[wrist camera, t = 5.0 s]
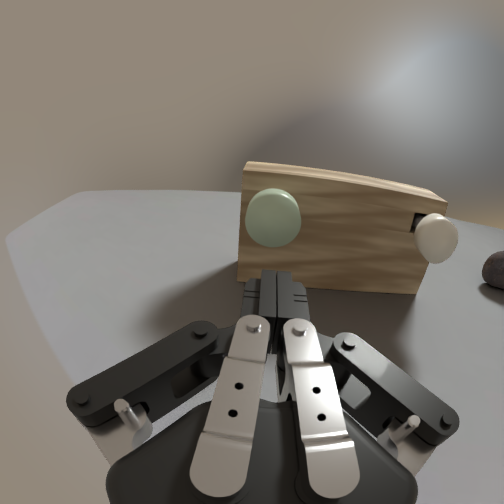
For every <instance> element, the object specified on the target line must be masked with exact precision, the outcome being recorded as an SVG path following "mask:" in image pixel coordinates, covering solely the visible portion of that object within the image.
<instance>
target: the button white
mask: <svg viewBox="0 0 504 504" xmlns="http://www.w3.org/2000/svg"><path fill="white" fill-rule="evenodd" d="M412 226H413V227H414V228H415V233H414V244H415V247H416V248H417V250H418V251H419V252H420V253H421V254H422V255H423V257H424V258H425V259H426V260H427V261H428V262H430V263H433V264H437V263H441V262H443V261H445V260H447V259H448V258H449V257H450V256H451V255H452V253H453V252H454V250H455V248H456V246H457V243H458V231H457V228H456V227H455V225H454V224H452V223H451V222H450V221H449V220H447V219H446V218H445V217H443V216H442V215H440V214H437V213H433V214H429V215H427V216H426V217H423V216H422V215H421V214H419V213H415V214H414V218H413V222H412Z"/></svg>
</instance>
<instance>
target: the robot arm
mask: <svg viewBox="0 0 504 504" xmlns="http://www.w3.org/2000/svg"><path fill="white" fill-rule="evenodd" d="M306 296H307V295H306V289H305V287H304V286H303V285H302V283H301V282H292V274H291V272H289V271H277V272H276V270H266V269H262V272H261V279H257V278H250V279H249V280H248V281H247V282H246V284H245V290H244V297H243V303H242V310H241V316H240V319H239V320H238V322H237V323H236V324H235V325H233V326H231V327H228V328H223V329H217V327H216V326H215V325H214V324H212V323H210V322H207V321H195V322H192V323H190V324H189V325H187V326H185V327H183V328H182V329H180V330H178V331H176V332H175V333H173V334H171V335H169V336H167V337H166V338H164V339H162V340H160V341H158V342H157V343H155V344H153V345H151V346H149V347H148V348H146V349H144V350H142V351H140V352H138V353H137V354H135V355H133V356H131V357H129V358H127V359H126V360H124V361H122V362H120V363H118V364H116V365H114V366H112V367H111V368H109V369H107V370H105V371H103V372H101V373H99V374H97V375H95V376H93V377H91V378H90V379H88V380H86V381H84V382H82V383H80V384H78V385H76V386H74V387H73V388H72V389H71V390H70V391H69V392H68V395H67V398H66V403H67V406H68V408H69V410H70V411H71V412H72V413H73V414H74V416H75V417H76V418H77V420H78V421H79V422H80V424H81V425H82V426H83V427H85V429H86V430H87V431H88V432H89V433H90V434H91V436H92V438H93V440H94V441H95V443H96V444H97V446H98V448H99V449H100V451H101V452H102V453H103V455H104V457H105V458H106V460H107V461H108V462H109V464H110V465H111V468H110V470H109V471H108V474H107V477H106V490H107V494H108V498H109V501H110V504H415V503H416V500H417V495H418V486H417V482H416V480H415V476H416V474H417V473H418V472H419V470H420V469H421V468H422V467H423V465H424V464H425V462H426V461H427V460H428V458H429V457H430V455H431V454H432V453H433V451H434V450H435V448H436V447H437V446H439V445H440V444H441V443H443V442H444V441H445V440H446V439H448V438H449V437H450V436H451V435H453V434H454V433H455V432H456V431H457V429H458V427H459V417H458V415H457V413H456V412H455V410H453V409H452V408H451V407H450V406H448V405H447V404H446V403H444V402H443V401H442V400H441V399H439V398H438V397H437V396H435V395H434V394H433V393H431V392H430V391H429V390H428V389H426V388H425V387H424V386H422V385H421V384H420V383H418V382H417V381H416V380H415V379H413V378H412V377H411V376H409V375H408V374H407V373H405V372H404V371H403V370H402V369H400V368H399V367H398V366H396V365H395V364H394V363H392V362H391V361H390V360H389V359H387V358H386V357H385V356H383V355H382V354H381V353H380V352H378V351H377V350H376V349H374V348H373V347H372V346H370V345H369V344H368V343H367V342H365V341H364V340H363V339H361V338H360V337H359V336H357V335H355V334H353V333H349V332H343V333H339V334H337V335H336V336H335V338H332V337H328V336H325V335H322V334H320V333H318V332H317V331H316V329H315V327H314V325H313V324H312V323H311V322H310V315H309V308H308V302H307V297H306ZM271 345H272V352H271V354H277V361H276V365H275V373H276V385H277V398H278V403H274V402H270V401H266V400H263V399H260V394H261V387H262V381H263V374H264V368H265V363H266V359H267V354H270V351H271ZM351 374H353V375H354V376H355V377H356V378H358V379H359V380H360V381H361V382H362V383H364V384H365V385H366V386H367V387H368V388H369V389H368V388H367V387H365V386H364V385H363V384H362V383H361V382H359V381H358V380H357V379H356V378H355V377H354V376H352V375H351ZM218 377H219V378H218ZM217 378H218V382H217V385H216V388H215V392H214V395H213V399H212V401H209V402H205V403H203V404H200V405H198V406H196V407H195V408H193V409H192V410H190V411H189V412H187V413H186V414H185V415H183V416H182V417H181V418H179V419H178V420H177V421H175V422H174V423H172V424H171V425H170V426H168V427H167V428H165V429H164V430H163V431H161V432H160V433H158V434H157V435H155V436H154V437H152V438H151V439H150V440H148V441H147V442H145V443H144V441H146V440H147V439H148V438H149V437H150V436H151V434H152V430H153V427H152V423H153V422H155V421H156V420H158V419H160V418H161V417H163V416H164V415H166V414H167V413H169V412H170V411H172V410H173V409H175V408H176V407H178V406H180V405H181V404H182V403H184V402H185V401H187V400H188V399H190V398H191V397H193V396H194V395H196V394H197V393H199V392H200V391H201V390H203V389H204V388H206V387H207V386H208V385H210V384H211V383H213V382H214V381H215V380H216V379H217ZM341 407H342V408H343V409H344V410H345V411H347V412H348V413H349V414H350V415H351V416H352V417H353V418H354V419H355V420H357V421H358V422H359V423H360V424H361V425H362V426H363V427H365V428H366V429H367V430H368V431H369V432H370V433H371V434H373V435H374V436H375V437H376V438H377V441H376V440H375V439H373V438H372V437H371V436H370V435H369V434H368V433H367V432H366V431H365V430H364V429H363V428H362V427H361V426H360V425H359V424H358V423H357V422H356V421H354V420H353V419H352V418H351V417H350V416H349V415H348V414H346V413H345V412H343V411H342V408H341ZM143 443H144V444H143Z"/></svg>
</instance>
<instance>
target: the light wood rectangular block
mask: <svg viewBox="0 0 504 504" xmlns="http://www.w3.org/2000/svg"><path fill="white" fill-rule="evenodd" d="M271 188H274V189H280V190H283V191H286V192H287V193H289V194H290V195H291V196H292V197H293V198H294V199H295V201H296V202H297V205H298V208H299V212H300V216H301V227H300V230H299V233H298V234H297V236H296V237H295V238H294V239H293V240H292V241H291V242H290V243H288V244H286V245H284V246H281V247H266V246H263V245H260V244H259V243H257V242H256V241H254V240H253V239H252V238H251V237H250V235H249V234H248V232H247V230H246V226H245V216H246V212H247V209H248V205H249V203H250V201H251V199H252V198H253V197H254V196H255V195H256V194H257V193H259V192H260V191H263V190H265V189H271ZM447 206H448V202H446V201H445V200H443V199H442V198H440V197H439V196H437V195H436V194H434V193H432V192H431V191H429V190H427V189H424V188H420V187H415V186H410V185H407V184H402V183H398V182H393V181H388V180H383V179H378V178H373V177H367V176H362V175H356V174H350V173H344V172H338V171H331V170H324V169H317V168H309V167H301V166H293V165H284V164H273V163H263V162H249V161H248V162H247V164H246V166H245V167H244V169H243V177H242V194H241V211H240V230H239V249H238V269H237V281H239V282H247V281H248V280H249V279H250V278H257V279H261V272H262V269H266V270H276V272H277V271H289V272H291V274H292V282H301V283H302V285H303V286H304V287H306V288H319V289H332V290H347V291H362V292H380V293H399V294H417V291H418V289H419V287H420V284H421V282H422V279H423V277H424V275H425V272H426V269H427V267H428V264H429V262H428V261H427V260H426V259H425V258H424V257H423V255H422V254H421V253H420V252H419V251H418V250H417V248H416V247H415V244H414V233H415V228H414V227H413V226H412V222H413V218H414V214H415V213H419V214H421V215H422V216H423V217H426V216H427V215H429V214H433V213H437V214H440V215H442V216H443V217H444V216H445V213H446V209H447Z"/></svg>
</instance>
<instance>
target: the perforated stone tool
mask: <svg viewBox="0 0 504 504" xmlns="http://www.w3.org/2000/svg"><path fill="white" fill-rule="evenodd" d="M482 277H483V279H484V281H485V282H487V283H488V284H490V285H491V286H494V287H499V288H501V289H504V251H500V252H497V253H494V254H492V255H491V256H490V257H489V258H488V259H487V260H486V262H485V264H484V265H483V269H482Z"/></svg>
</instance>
